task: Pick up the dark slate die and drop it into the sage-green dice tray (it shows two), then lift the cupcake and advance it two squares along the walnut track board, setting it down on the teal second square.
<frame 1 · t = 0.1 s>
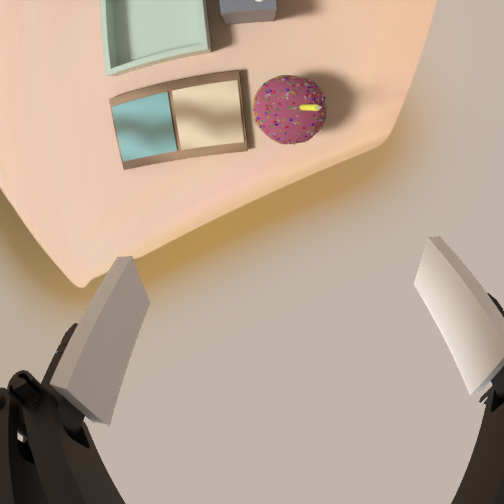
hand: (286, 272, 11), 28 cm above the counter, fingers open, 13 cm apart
die: (247, 4, 24), on the counter
board: (176, 119, 33), on the counter
cupcake: (285, 107, 32), on the counter
tray: (156, 20, 24), on the counter
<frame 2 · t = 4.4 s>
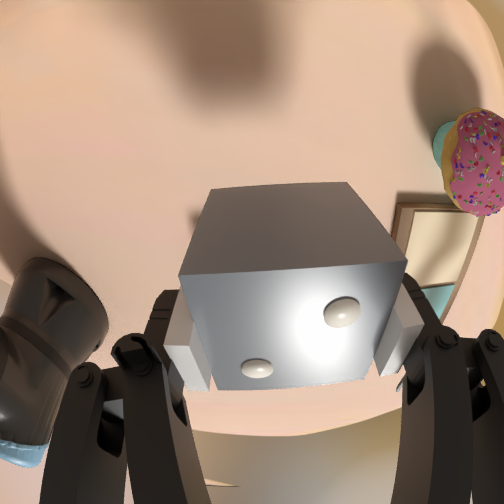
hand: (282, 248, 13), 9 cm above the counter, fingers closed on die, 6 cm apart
die: (282, 243, 13), point 9 cm above the counter, touching gripper
board: (423, 279, 25), on the counter
cupcake: (452, 146, 18), on the counter
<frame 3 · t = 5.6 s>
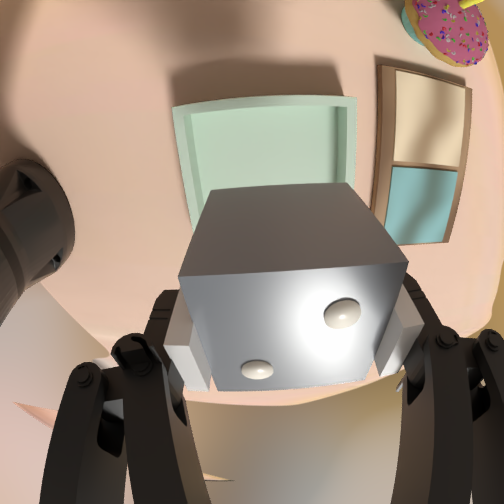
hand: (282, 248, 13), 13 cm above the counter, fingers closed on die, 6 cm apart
die: (282, 243, 13), point 12 cm above the counter, touching gripper
board: (422, 162, 22), on the counter
cupcake: (422, 25, 14), on the counter
tray: (268, 171, 23), on the counter
when the fingers open (4 cm above the counter, at t = 6.8 s): die drops 3 cm, resting on tray.
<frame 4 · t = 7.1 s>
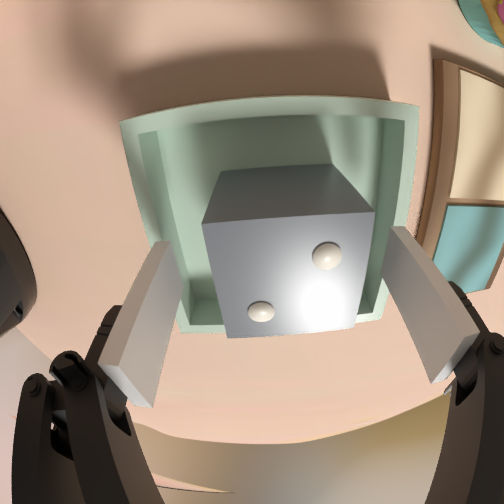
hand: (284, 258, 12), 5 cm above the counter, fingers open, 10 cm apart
die: (280, 216, 16), point 1 cm above the counter, touching tray
board: (477, 196, 15), on the counter
cupcake: (480, 14, 7), on the counter
tray: (276, 212, 16), on the counter
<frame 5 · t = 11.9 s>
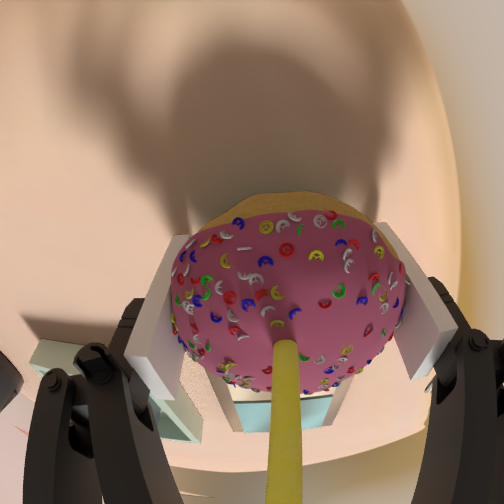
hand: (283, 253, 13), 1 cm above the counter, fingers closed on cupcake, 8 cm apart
board: (283, 388, 21), on the counter
cupcake: (281, 241, 13), on the counter, touching gripper
tray: (123, 387, 23), on the counter
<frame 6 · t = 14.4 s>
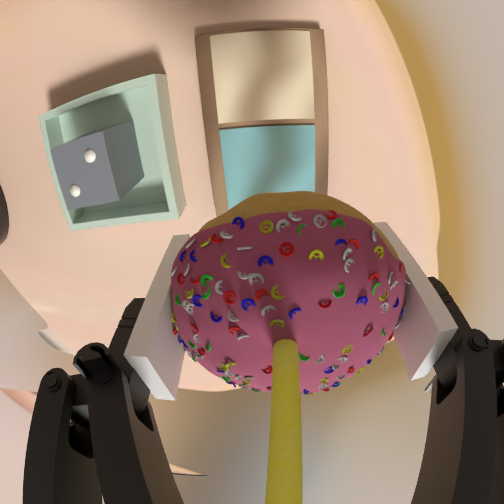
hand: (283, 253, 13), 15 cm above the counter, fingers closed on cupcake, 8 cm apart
die: (113, 154, 24), point 1 cm above the counter, touching tray
board: (266, 121, 23), on the counter
cupcake: (281, 241, 13), point 14 cm above the counter, touching gripper
tray: (114, 153, 24), on the counter
when the fingers open (3 cm above the counter, at t = 17.1 s): cupcake drops 1 cm, resting on board.
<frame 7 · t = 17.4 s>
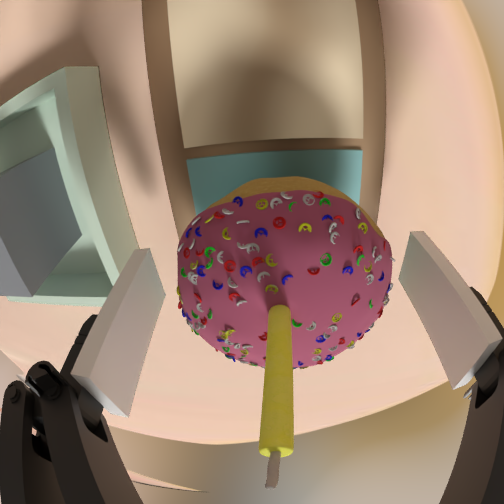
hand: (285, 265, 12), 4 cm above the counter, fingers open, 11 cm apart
die: (37, 201, 14), point 1 cm above the counter, touching tray
board: (274, 140, 13), on the counter
cupcake: (278, 228, 14), point 1 cm above the counter, touching board
tray: (41, 198, 14), on the counter
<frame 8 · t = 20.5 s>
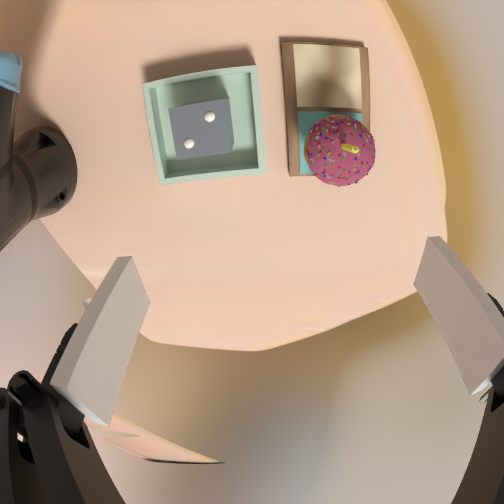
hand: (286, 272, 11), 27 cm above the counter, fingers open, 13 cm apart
die: (208, 123, 31), point 1 cm above the counter, touching tray
board: (328, 108, 31), on the counter
cupcake: (330, 142, 32), point 1 cm above the counter, touching board
tray: (207, 122, 32), on the counter
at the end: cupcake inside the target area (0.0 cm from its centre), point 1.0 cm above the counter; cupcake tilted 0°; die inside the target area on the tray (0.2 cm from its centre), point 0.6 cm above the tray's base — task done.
